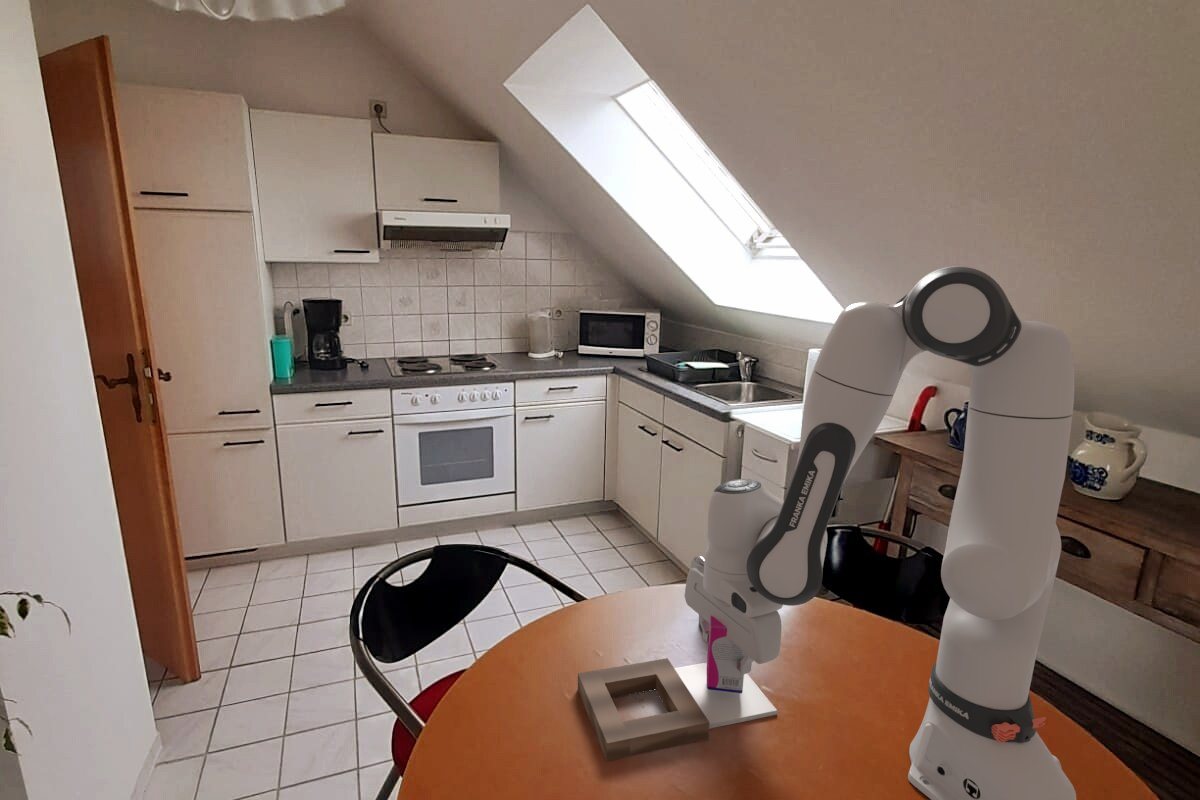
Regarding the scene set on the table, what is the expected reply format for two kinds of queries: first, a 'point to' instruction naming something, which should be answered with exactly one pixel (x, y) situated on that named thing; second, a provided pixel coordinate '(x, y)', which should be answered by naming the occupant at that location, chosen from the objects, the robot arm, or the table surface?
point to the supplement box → (722, 660)
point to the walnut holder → (646, 732)
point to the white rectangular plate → (725, 698)
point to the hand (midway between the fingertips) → (725, 655)
